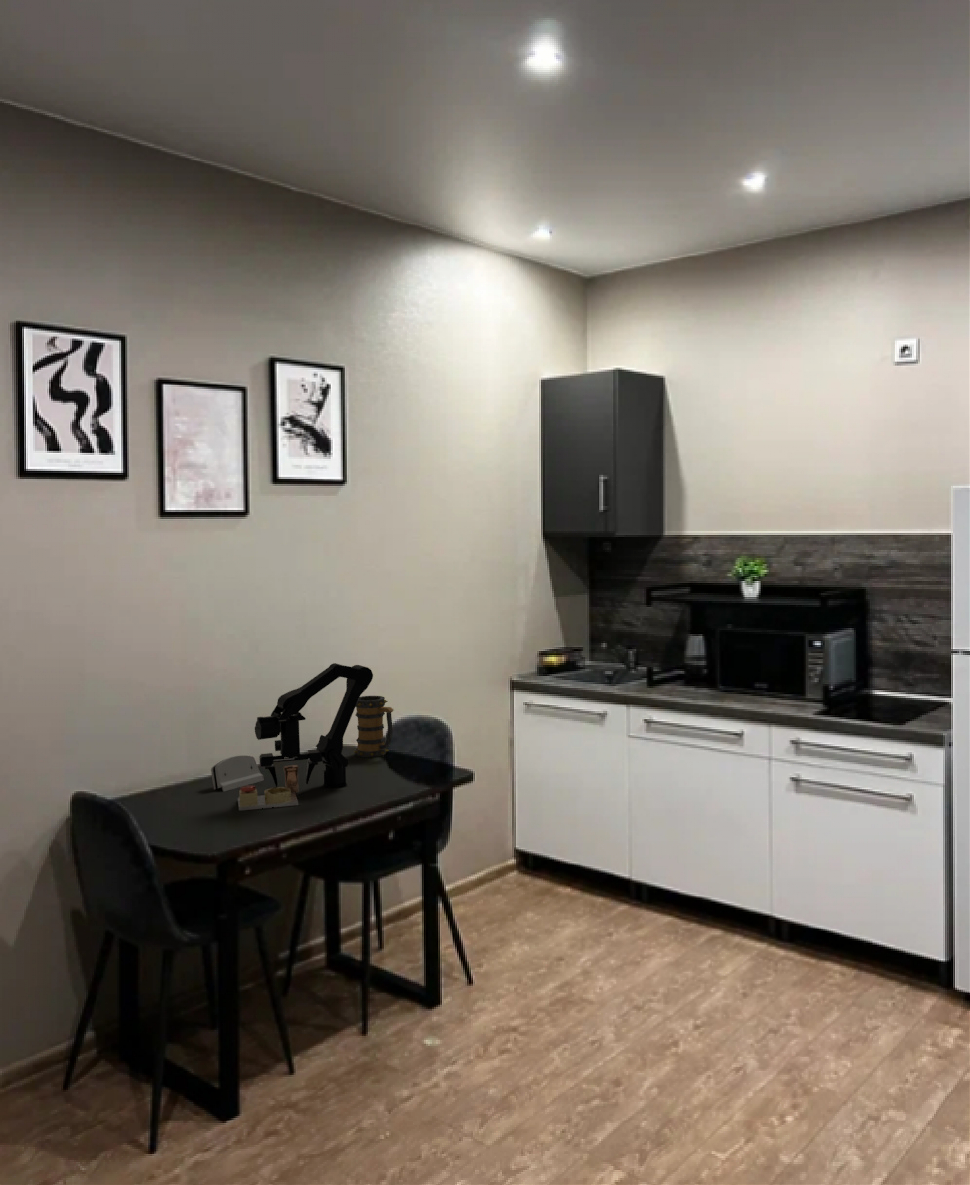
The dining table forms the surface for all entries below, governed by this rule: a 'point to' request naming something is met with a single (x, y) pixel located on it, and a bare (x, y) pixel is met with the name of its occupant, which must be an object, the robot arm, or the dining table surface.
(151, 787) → the dining table surface
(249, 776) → the hinge
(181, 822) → the dining table surface
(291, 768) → the pipe stub
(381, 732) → the mug
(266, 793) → the panel with octagonal sockets
